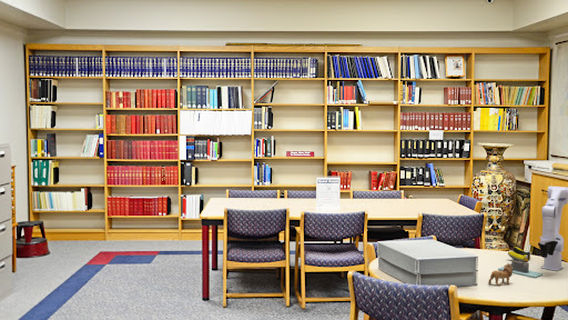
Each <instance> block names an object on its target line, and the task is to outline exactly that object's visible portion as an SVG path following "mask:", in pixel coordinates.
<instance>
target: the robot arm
mask: <svg viewBox="0 0 568 320" xmlns="http://www.w3.org/2000/svg"><path fill="white" fill-rule="evenodd" d="M566 205H568V186H554V185H549V186H548V187H547V201H546V203H545V205H544V206H542V208H541V215H542V216H541V217H542V219H541V220H542V230H541V231H542V232H541V233H542V234H541V236H539V239H540V240H539V241H540V242H537V246H538V247H539V249H540V254H541V257H542V258H543V259H544V260H543V265H542V266H540V268H541V269H545V270H549V271H556V272H557V271H560V270H561V269H563V268H564V266H562V262H563V255H562V253H563V251H564V245H565V239H564V237H563V236H562V234H560V229H561V221H562V213H563V209H564V207H565V206H566Z"/></svg>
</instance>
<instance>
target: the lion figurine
mask: <svg viewBox="0 0 568 320" xmlns="http://www.w3.org/2000/svg"><path fill="white" fill-rule="evenodd" d="M503 266H504V269H503V271H500V270H493V271H492V272H491V274H490V278H489V279H488V282H487V283H488V286H491V285H492V280H493V279H494V280H495V284H496V286H497V287H500V286H501V284H499V280H500V279H501V283H502V284H505V279H506V285H510V283H509V282H510V278H511V277H512V276H513V267H512V266H511V265H510V264H507V263H506V264H504V265H503Z"/></svg>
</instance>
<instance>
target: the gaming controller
mask: <svg viewBox="0 0 568 320" xmlns="http://www.w3.org/2000/svg"><path fill="white" fill-rule="evenodd" d="M531 254H532V252H531V251H524V250H523V249H521V248H519V247H517V246H514V247H513V248H512V250H509V251H508V252H507V255H508V256H509V257H510V258H511V259H512V260H516V261H521V262H528V261H529V260H531Z"/></svg>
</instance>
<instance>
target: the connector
mask: <svg viewBox="0 0 568 320" xmlns="http://www.w3.org/2000/svg"><path fill="white" fill-rule="evenodd" d="M506 264H510V265H511V266H512V267H513V270H514V271H518V272H523V273H529V271H530V267H529V266H530V263H529V262H527V261H524V262H521V261H519V260H514V259H512V260H511V262H507V263H506Z"/></svg>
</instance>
